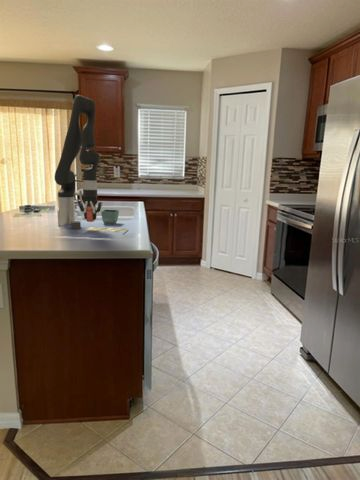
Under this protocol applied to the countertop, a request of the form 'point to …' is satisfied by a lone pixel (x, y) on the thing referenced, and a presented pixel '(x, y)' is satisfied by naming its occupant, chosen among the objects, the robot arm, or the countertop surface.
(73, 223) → the die
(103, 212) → the flower pot
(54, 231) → the countertop surface
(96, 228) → the board
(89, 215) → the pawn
